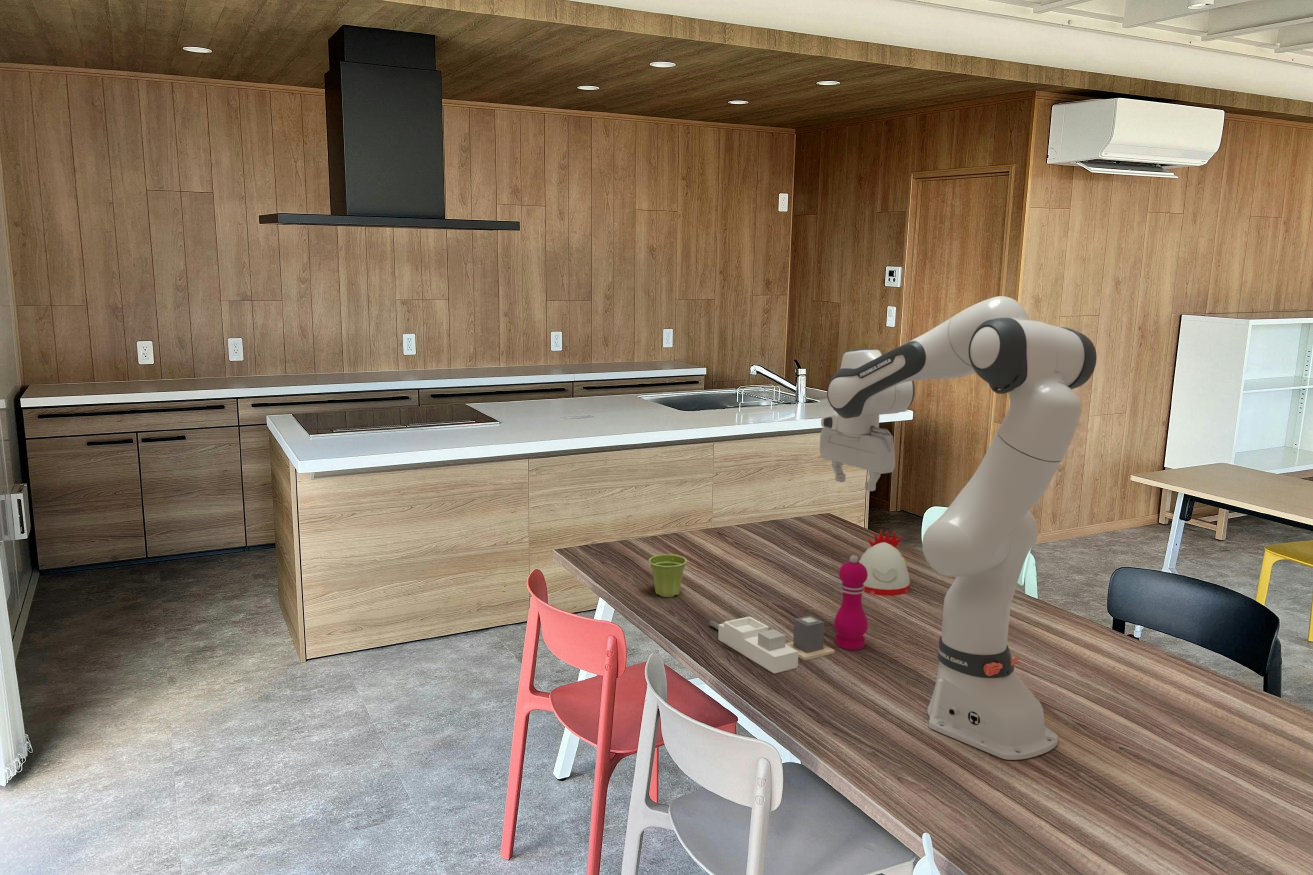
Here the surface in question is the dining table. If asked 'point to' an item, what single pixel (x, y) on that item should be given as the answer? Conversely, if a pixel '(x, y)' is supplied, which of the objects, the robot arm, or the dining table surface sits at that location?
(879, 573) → the kitchen timer
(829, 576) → the dining table surface
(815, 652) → the coaster
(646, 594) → the dining table surface
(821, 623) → the block
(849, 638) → the pepper mill
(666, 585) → the plant pot
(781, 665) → the power strip
